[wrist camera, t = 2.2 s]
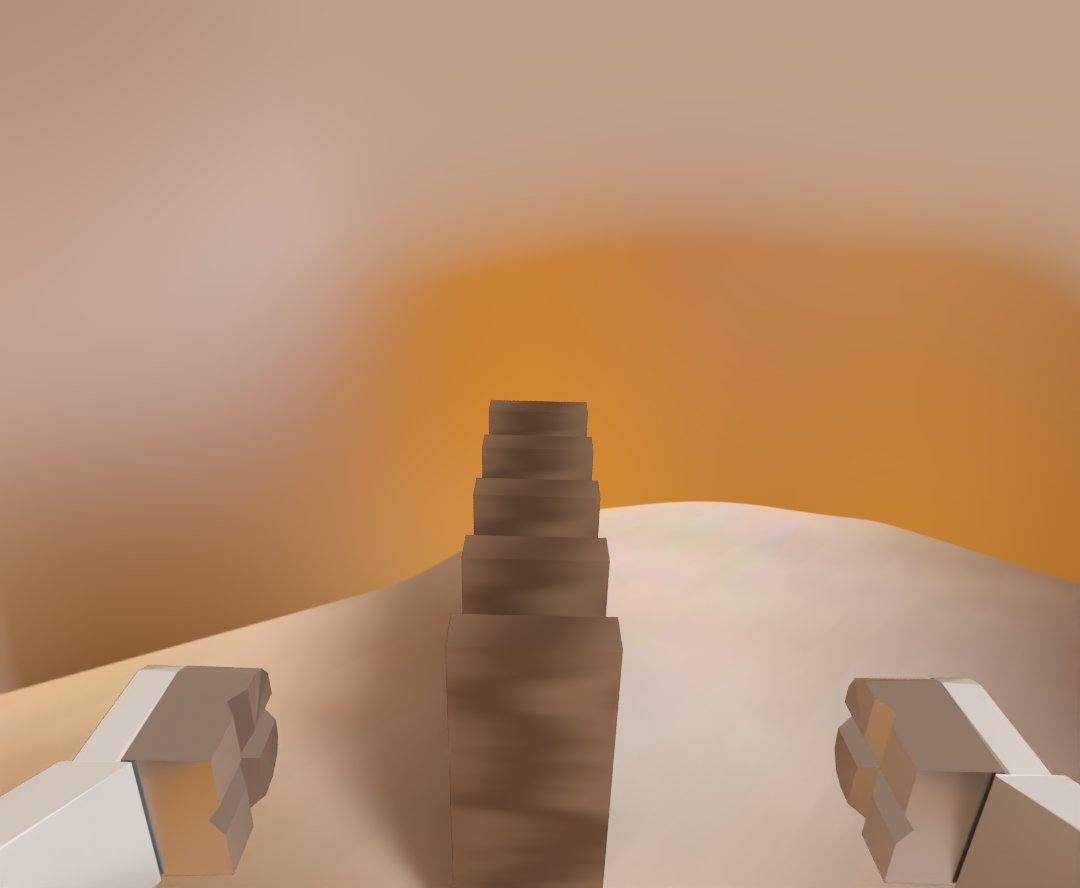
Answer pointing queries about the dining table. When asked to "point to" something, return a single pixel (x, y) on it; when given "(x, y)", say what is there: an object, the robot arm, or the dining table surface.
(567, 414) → the domino
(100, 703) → the dining table surface
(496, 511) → the domino
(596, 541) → the domino
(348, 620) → the dining table surface
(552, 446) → the domino
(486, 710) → the domino
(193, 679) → the robot arm
